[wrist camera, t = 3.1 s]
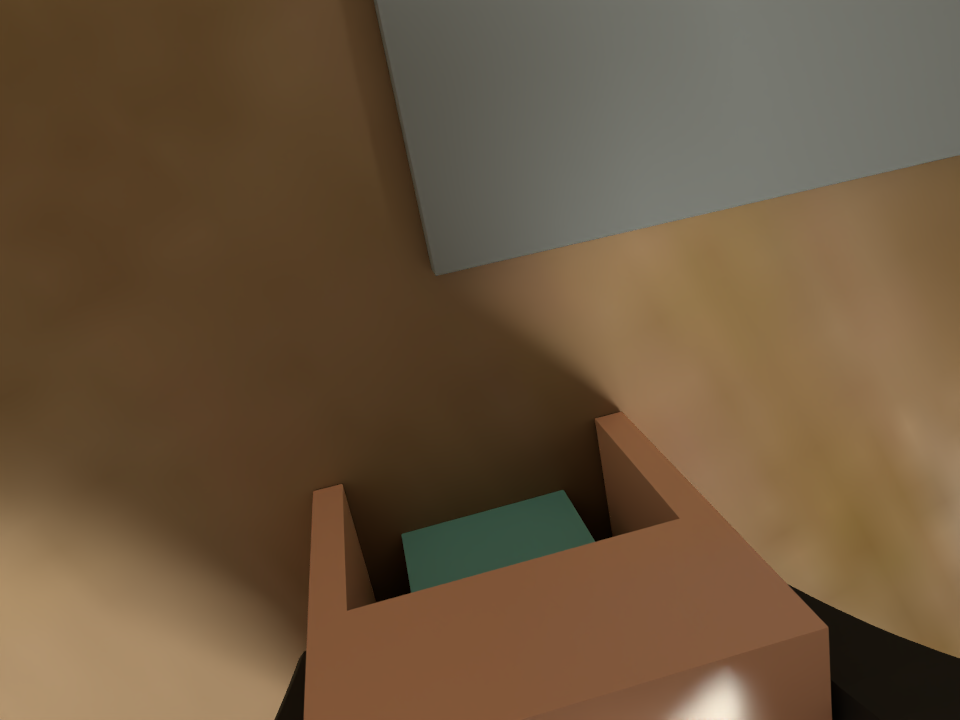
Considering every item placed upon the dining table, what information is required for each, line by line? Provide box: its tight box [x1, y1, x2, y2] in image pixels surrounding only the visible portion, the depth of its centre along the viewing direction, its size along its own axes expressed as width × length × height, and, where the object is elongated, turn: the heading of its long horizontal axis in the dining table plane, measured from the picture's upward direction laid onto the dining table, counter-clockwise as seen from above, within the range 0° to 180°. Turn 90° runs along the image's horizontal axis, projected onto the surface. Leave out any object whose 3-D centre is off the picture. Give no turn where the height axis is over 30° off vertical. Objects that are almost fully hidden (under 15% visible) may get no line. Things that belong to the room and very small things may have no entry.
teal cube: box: [401, 490, 595, 593], centre depth 13 cm, size 3×3×3 cm
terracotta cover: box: [304, 412, 832, 720], centre depth 11 cm, size 6×6×6 cm
